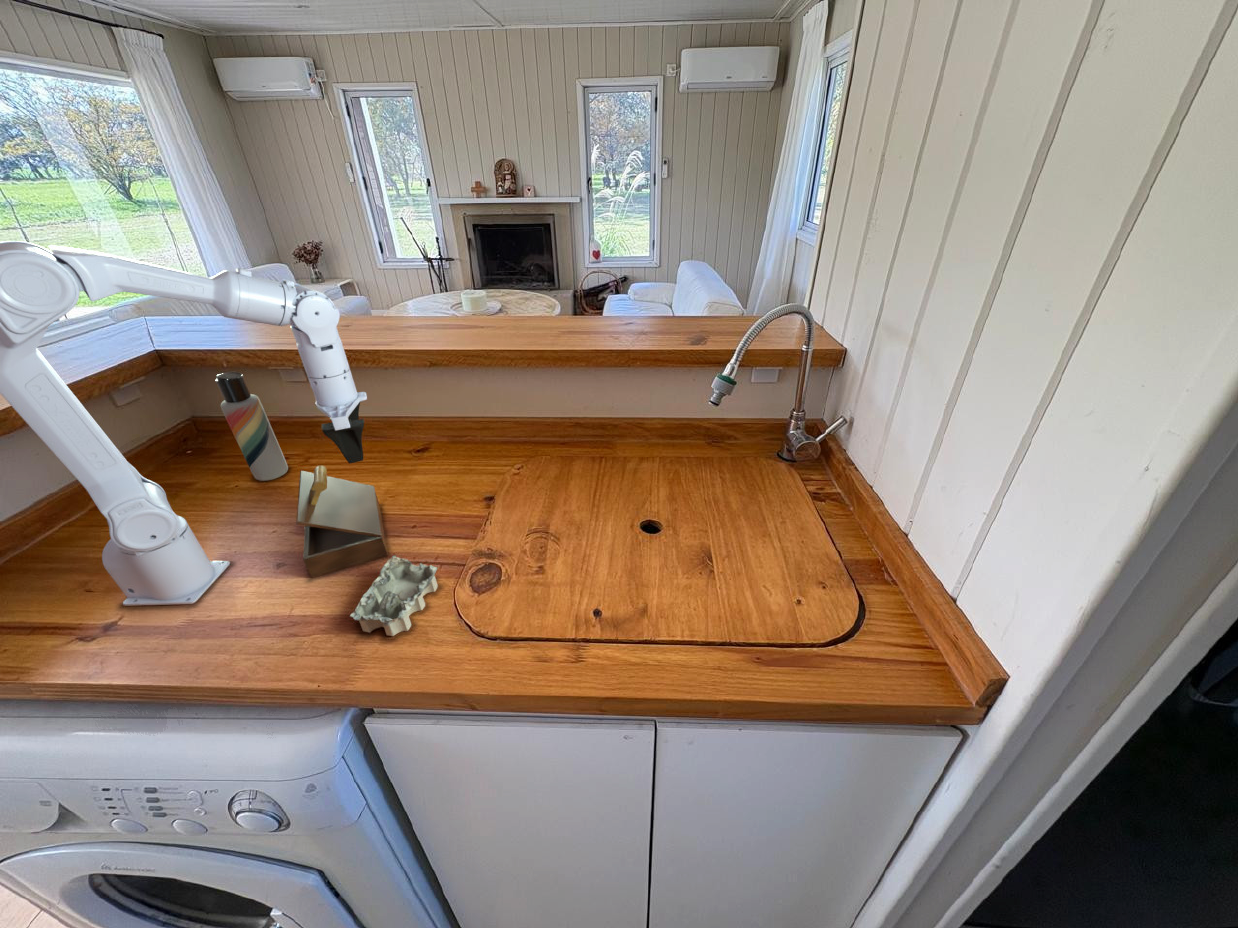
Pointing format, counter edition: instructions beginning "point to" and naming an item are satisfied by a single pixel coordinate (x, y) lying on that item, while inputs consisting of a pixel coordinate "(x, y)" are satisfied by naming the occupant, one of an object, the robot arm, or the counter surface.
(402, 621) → the egg carton
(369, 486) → the lid
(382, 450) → the counter surface
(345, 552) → the compartment
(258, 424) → the lotion bottle
